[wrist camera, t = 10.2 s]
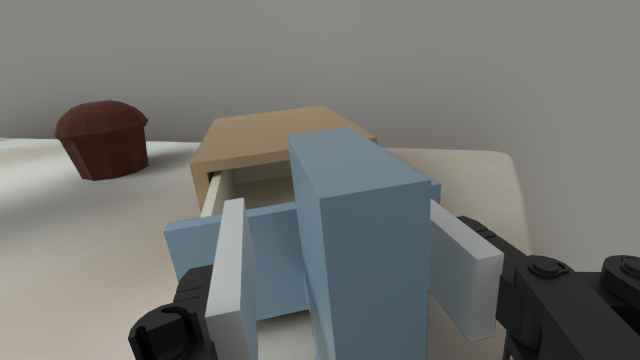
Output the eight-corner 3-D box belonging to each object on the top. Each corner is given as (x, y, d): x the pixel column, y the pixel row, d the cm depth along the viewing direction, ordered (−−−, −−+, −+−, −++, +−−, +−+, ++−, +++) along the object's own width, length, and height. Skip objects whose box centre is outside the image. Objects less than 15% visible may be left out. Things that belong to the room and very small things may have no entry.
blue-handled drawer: (588, 458, 10) (685, 136, 7) (140, 607, 8) (-66, 263, 5) (343, 171, 37) (336, 75, 33) (222, 190, 35) (201, 90, 31)
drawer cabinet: (379, 217, 28) (376, 137, 26) (210, 248, 26) (189, 163, 24) (327, 155, 47) (323, 105, 44) (226, 170, 45) (215, 118, 42)
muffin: (62, 191, 43) (32, 113, 40) (77, 169, 52) (53, 105, 49) (161, 170, 48) (141, 99, 44) (159, 154, 57) (142, 94, 54)
